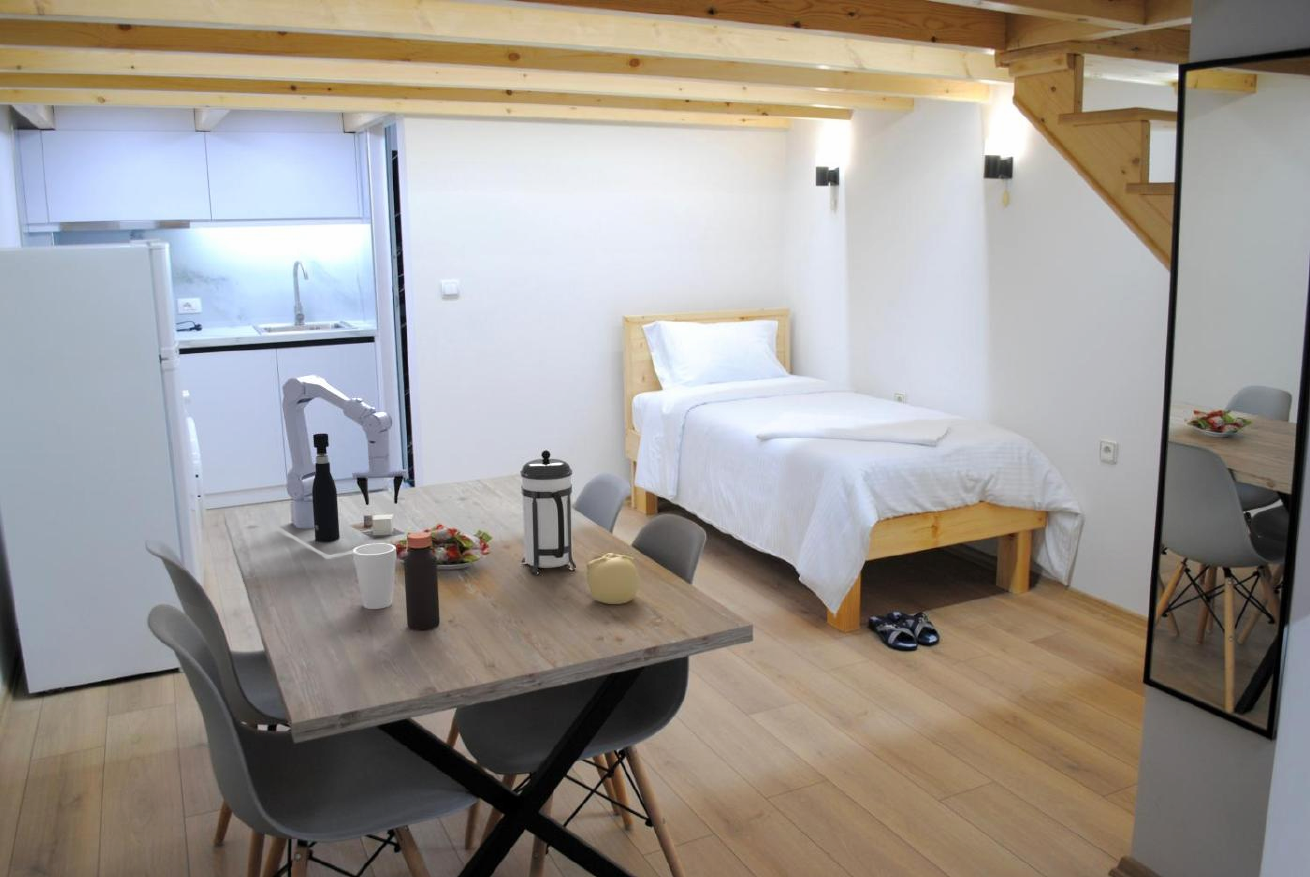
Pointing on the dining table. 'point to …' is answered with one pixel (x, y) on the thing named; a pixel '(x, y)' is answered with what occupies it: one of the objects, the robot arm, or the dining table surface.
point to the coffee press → (547, 513)
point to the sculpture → (613, 578)
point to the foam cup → (375, 573)
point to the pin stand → (365, 523)
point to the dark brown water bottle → (421, 583)
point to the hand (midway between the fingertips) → (381, 503)
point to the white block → (383, 524)
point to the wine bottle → (324, 495)
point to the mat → (370, 534)
